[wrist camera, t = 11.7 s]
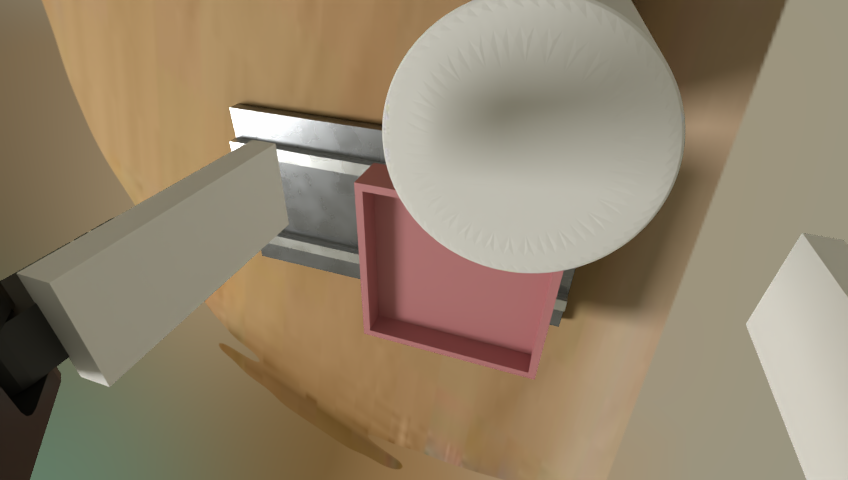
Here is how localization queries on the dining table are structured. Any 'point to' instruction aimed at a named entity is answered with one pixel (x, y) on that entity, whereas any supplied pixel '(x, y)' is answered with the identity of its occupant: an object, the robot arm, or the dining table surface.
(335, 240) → the track
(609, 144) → the container
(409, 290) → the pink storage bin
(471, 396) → the dining table surface
